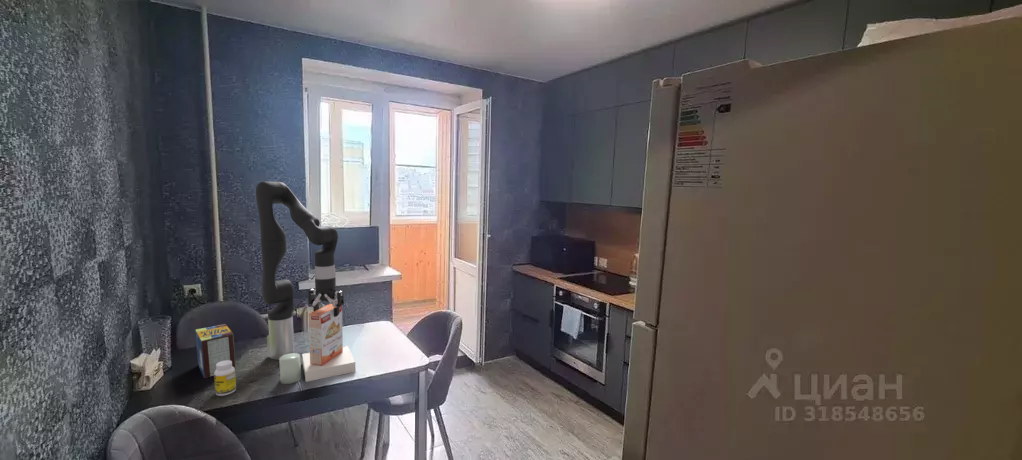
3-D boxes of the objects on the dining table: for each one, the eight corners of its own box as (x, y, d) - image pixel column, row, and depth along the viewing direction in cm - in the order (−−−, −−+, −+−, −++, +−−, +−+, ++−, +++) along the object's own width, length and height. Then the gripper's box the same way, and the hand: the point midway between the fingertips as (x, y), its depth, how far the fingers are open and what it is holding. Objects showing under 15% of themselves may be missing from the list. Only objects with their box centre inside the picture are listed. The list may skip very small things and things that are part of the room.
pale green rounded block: (276, 382, 154) (274, 360, 153) (289, 374, 161) (287, 352, 160) (292, 384, 153) (291, 361, 152) (305, 375, 160) (304, 354, 159)
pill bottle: (211, 394, 145) (209, 364, 144) (228, 386, 151) (226, 357, 150) (223, 398, 143) (220, 368, 142) (240, 389, 149) (238, 360, 147)
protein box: (228, 358, 174) (225, 323, 172) (236, 370, 163) (233, 333, 161) (197, 365, 167) (194, 329, 165) (203, 379, 156) (200, 340, 154)
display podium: (305, 381, 155) (305, 371, 155) (302, 363, 171) (302, 354, 170) (355, 371, 164) (355, 362, 164) (348, 354, 180) (347, 345, 179)
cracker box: (323, 366, 160) (321, 314, 157) (309, 364, 161) (307, 313, 158) (344, 351, 173) (342, 304, 171) (331, 350, 174) (329, 302, 172)
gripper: (302, 277, 160) (304, 317, 162) (336, 279, 158) (337, 319, 160) (315, 273, 168) (316, 311, 170) (346, 275, 165) (348, 313, 167)
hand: (326, 315), depth 165 cm, fingers open, 8 cm apart
